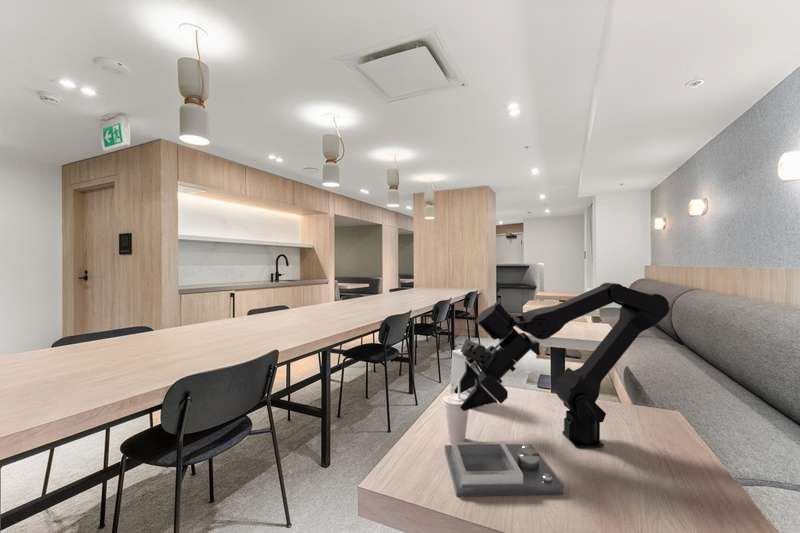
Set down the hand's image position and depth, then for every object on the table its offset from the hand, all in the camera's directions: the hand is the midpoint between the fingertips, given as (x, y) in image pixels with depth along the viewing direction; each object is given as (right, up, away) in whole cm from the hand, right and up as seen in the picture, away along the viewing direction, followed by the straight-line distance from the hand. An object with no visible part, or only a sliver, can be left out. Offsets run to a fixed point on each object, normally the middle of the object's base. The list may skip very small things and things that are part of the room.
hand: (458, 400), depth 80 cm
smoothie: (0, -9, 0) cm, 9 cm away
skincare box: (+6, -9, +21) cm, 24 cm away
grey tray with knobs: (+6, -9, -12) cm, 16 cm away
